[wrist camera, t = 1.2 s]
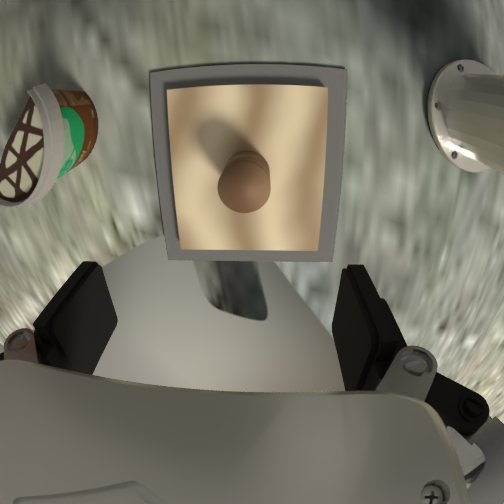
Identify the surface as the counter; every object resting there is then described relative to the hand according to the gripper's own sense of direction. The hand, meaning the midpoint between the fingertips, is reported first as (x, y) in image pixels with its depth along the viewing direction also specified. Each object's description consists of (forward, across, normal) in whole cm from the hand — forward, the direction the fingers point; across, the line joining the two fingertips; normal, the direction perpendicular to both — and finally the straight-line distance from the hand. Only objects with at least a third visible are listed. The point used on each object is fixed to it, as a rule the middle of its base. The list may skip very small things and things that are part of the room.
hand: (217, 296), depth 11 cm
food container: (+20, +18, -4) cm, 27 cm away
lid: (+19, 0, 0) cm, 19 cm away
